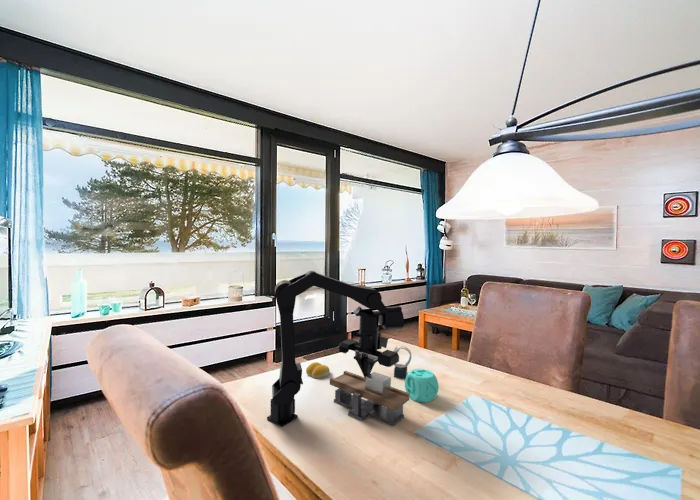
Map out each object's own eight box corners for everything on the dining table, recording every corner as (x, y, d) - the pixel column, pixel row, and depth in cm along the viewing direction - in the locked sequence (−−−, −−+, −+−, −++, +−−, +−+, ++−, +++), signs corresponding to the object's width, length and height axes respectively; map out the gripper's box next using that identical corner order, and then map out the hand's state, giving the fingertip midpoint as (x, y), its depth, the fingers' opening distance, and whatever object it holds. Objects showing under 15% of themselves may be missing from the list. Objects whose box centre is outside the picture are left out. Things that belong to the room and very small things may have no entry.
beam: (329, 384, 110) (329, 378, 110) (345, 376, 117) (345, 370, 116) (395, 410, 96) (395, 403, 96) (409, 399, 102) (409, 393, 102)
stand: (326, 406, 108) (326, 384, 108) (352, 391, 118) (352, 371, 118) (387, 431, 94) (387, 407, 94) (410, 412, 105) (410, 390, 105)
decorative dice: (438, 399, 113) (439, 375, 113) (419, 404, 110) (419, 379, 109) (422, 389, 121) (423, 366, 120) (404, 394, 117) (404, 370, 116)
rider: (365, 391, 104) (365, 376, 104) (373, 385, 108) (373, 371, 107) (382, 397, 100) (382, 382, 100) (390, 391, 104) (390, 377, 104)
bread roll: (319, 380, 127) (319, 370, 127) (302, 374, 132) (302, 364, 132) (334, 373, 133) (334, 363, 133) (317, 368, 139) (317, 358, 139)
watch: (391, 371, 136) (391, 343, 136) (411, 373, 134) (412, 345, 134) (388, 376, 131) (389, 347, 130) (410, 379, 129) (411, 350, 128)
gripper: (409, 329, 106) (406, 379, 107) (359, 318, 117) (357, 363, 118) (390, 338, 97) (388, 392, 98) (338, 325, 108) (336, 373, 109)
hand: (366, 379), depth 106 cm, fingers closed
